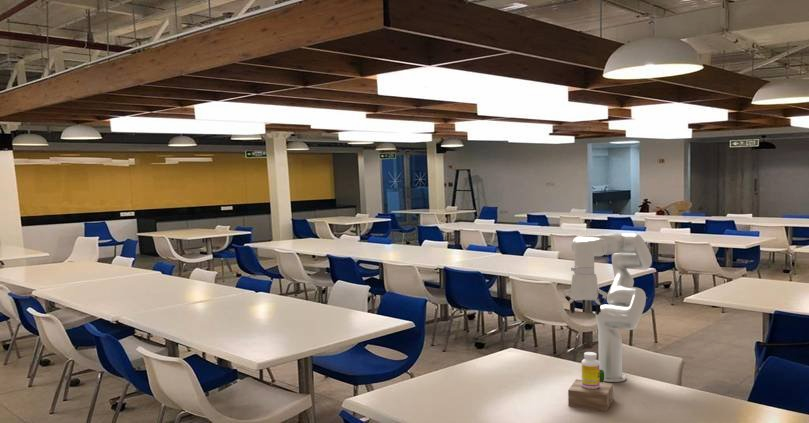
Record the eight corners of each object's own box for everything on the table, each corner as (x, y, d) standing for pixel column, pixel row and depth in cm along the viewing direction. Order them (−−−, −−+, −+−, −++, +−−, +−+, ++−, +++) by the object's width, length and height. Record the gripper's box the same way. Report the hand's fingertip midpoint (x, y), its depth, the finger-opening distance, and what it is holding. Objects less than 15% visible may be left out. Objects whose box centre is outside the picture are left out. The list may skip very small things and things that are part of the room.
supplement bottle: (600, 389, 233) (600, 356, 233) (582, 389, 235) (582, 355, 234) (598, 384, 240) (598, 351, 239) (580, 383, 241) (580, 350, 241)
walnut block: (576, 394, 247) (576, 379, 246) (612, 398, 240) (612, 383, 240) (568, 405, 234) (568, 390, 234) (606, 411, 228) (606, 395, 228)
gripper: (560, 271, 247) (561, 313, 248) (605, 273, 239) (606, 316, 240) (564, 268, 254) (565, 310, 254) (608, 270, 246) (609, 312, 247)
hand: (585, 313), depth 247 cm, fingers open, 9 cm apart
